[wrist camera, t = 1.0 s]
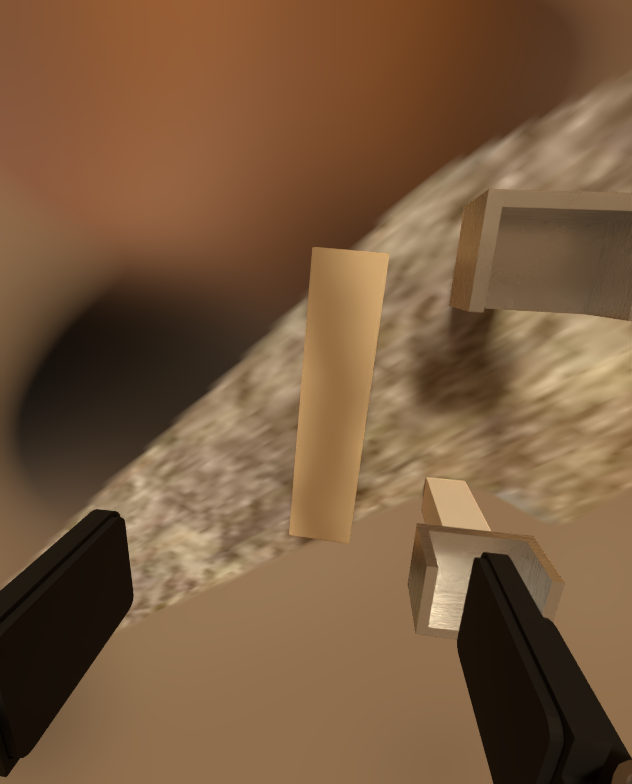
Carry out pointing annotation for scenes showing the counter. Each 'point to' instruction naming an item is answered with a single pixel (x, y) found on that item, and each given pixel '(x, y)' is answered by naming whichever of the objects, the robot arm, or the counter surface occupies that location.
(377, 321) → the rail
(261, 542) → the counter surface
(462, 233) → the bracket stand
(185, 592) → the counter surface
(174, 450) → the counter surface
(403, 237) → the counter surface
